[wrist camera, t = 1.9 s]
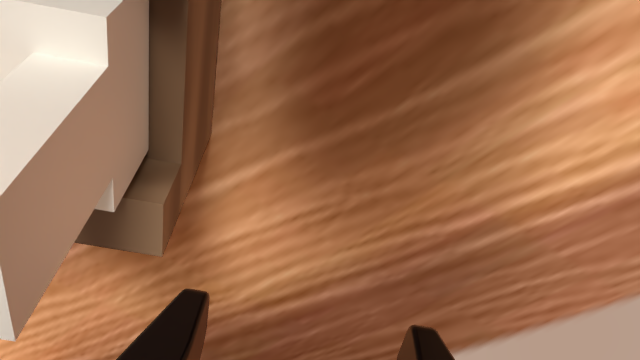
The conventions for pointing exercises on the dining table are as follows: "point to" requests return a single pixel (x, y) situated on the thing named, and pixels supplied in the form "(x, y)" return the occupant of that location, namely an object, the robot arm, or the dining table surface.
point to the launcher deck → (167, 128)
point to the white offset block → (64, 132)
